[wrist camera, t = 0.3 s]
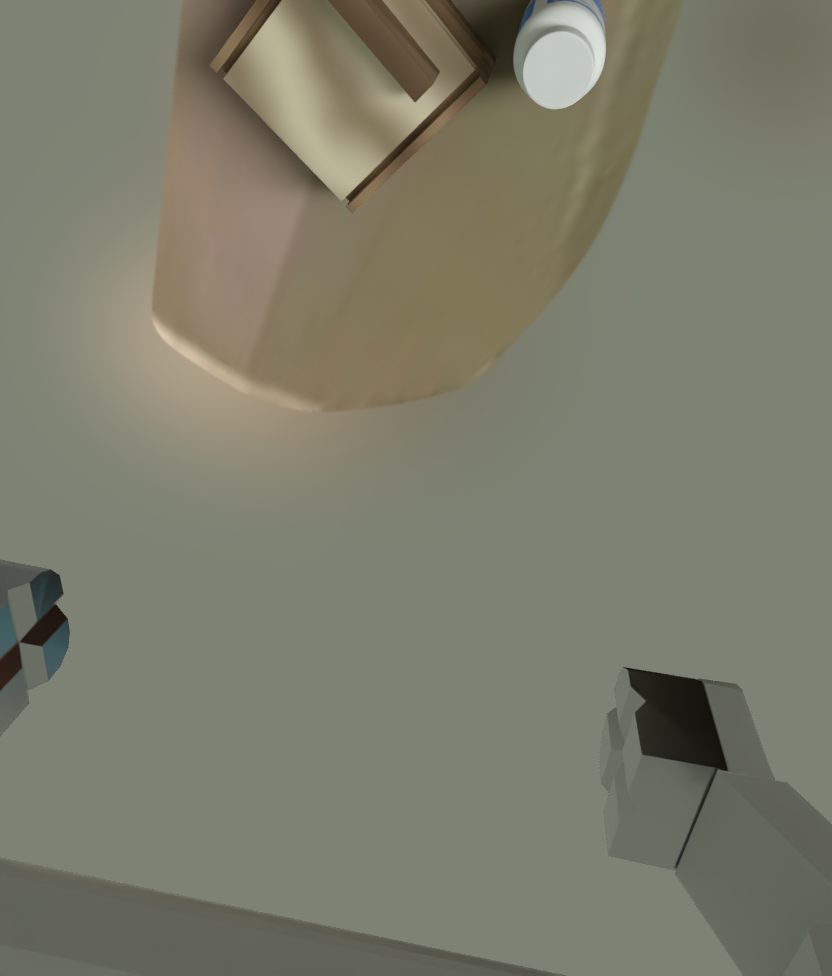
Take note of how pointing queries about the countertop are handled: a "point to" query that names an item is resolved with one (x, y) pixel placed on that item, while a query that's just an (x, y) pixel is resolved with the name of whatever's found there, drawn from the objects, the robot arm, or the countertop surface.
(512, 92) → the countertop surface
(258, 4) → the lid box
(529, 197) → the countertop surface
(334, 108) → the lid
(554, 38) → the pill bottle
